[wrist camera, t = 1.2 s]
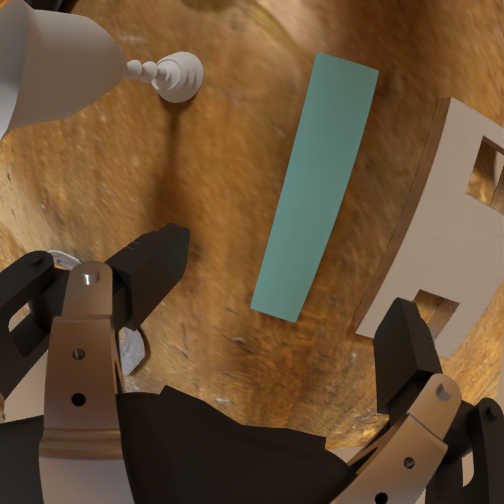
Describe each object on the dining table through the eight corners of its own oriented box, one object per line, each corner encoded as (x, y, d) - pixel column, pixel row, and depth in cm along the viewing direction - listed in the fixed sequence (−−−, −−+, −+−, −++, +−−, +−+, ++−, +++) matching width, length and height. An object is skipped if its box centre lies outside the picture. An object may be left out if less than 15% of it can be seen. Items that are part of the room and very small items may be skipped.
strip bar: (320, 66, 19) (316, 51, 14) (368, 81, 18) (379, 70, 14) (264, 276, 28) (249, 308, 24) (302, 288, 28) (295, 323, 23)
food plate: (120, 382, 48) (111, 394, 45) (40, 304, 46) (29, 313, 43) (170, 327, 37) (158, 343, 33) (57, 216, 34) (40, 225, 31)
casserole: (87, -75, 11) (49, -87, 4) (114, -27, 17) (64, -44, 9) (-1, 32, 21) (-36, 35, 14) (13, 99, 27) (-30, 108, 20)
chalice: (220, 102, 22) (33, 106, 6) (156, 123, 24) (-21, 166, 9) (204, 31, 19) (33, -32, 4) (142, 57, 21) (-29, 51, 6)
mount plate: (438, 98, 17) (451, 96, 14) (532, 159, 15) (549, 166, 13) (354, 313, 28) (355, 333, 25) (443, 339, 26) (449, 357, 23)
